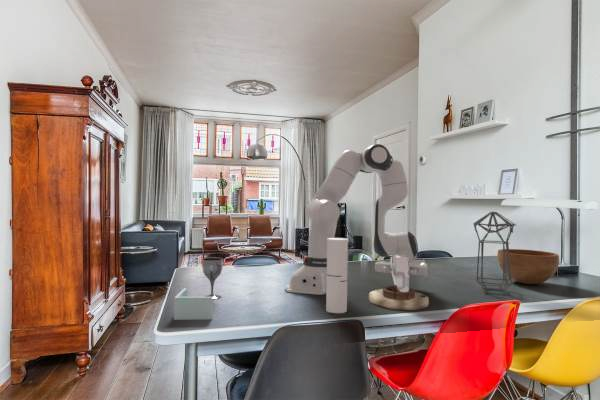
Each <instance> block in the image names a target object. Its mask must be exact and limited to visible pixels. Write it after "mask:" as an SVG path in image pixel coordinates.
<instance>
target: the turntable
mask: <svg viewBox="0 0 600 400" xmlns="http://www.w3.org/2000/svg"><path fill="white" fill-rule="evenodd" d="M409 290H410V292H406V293H403V292H394V291H395V286H394V285H386V286H382V288H381V289H374V290H372V291H370V292H369V293H368V301H369V302H370V303H372V304H374V305H376V306H378V307H382V308H387V309H392V310H401V311H402V310H403V311H417V310H421V309H425V308H427V307H429V304H430V301H429V299H430V298H429V297H428V296H427V295H426V294H423V293H421V292H417V291H415V289H413V288H411V287H409Z"/></svg>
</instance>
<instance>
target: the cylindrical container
mask: <svg viewBox="0 0 600 400" xmlns="http://www.w3.org/2000/svg"><path fill="white" fill-rule="evenodd" d="M348 240H349V239H348V238H345V237H334V238H327V290H326V294H325V295H326V299H325V301H326V302H325V303H326V304H325V311H326V312H327V313H331V314H332V313H333V314H344V313H346V312H347V311H348V258H349V257H348V250H349V249H348V245H349V244H348V243H349V242H348Z"/></svg>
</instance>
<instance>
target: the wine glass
mask: <svg viewBox="0 0 600 400" xmlns="http://www.w3.org/2000/svg"><path fill="white" fill-rule="evenodd" d="M201 266H202V272H203V274H204V276H205V277H206V279H207V280H208V281H209V283H210V294H208V295H204V296H203V297H213V301H214V300H218V299H221V298H222V295H219V294H214V287H215V282H216V280H217V279H218V277H219V276H220V275H221V274H222V271H223V266H224V258H223V257H220V256H219V257H217V256H215V257H213V256H212V257H210V256H209V257H204V258H202V259H201Z"/></svg>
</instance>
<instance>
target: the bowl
mask: <svg viewBox="0 0 600 400" xmlns="http://www.w3.org/2000/svg"><path fill="white" fill-rule="evenodd" d="M496 256H497V262H498V265H499V267H500V269H501V270H502V271H503V248H502V249H501V248H500V249H498V250H497V255H496ZM509 257H510V270H511V280H513V282H514V281H515V282H516V283H520V284H523V285H538V284H542V283H544V282H547V281H548V280H549V279H551V278H552V277H553V276H554V275H555V274H556V273H557V270H558V268H559V266H560V265H559V264H560V255H559V254H557V253H556V252H552V251H551V252H550V251H543V250H542V251H541V250H533V249H519V248H509ZM505 259H506V274H507V277H508V265H507V253H506V248H505ZM504 270H505V266H504Z"/></svg>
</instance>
